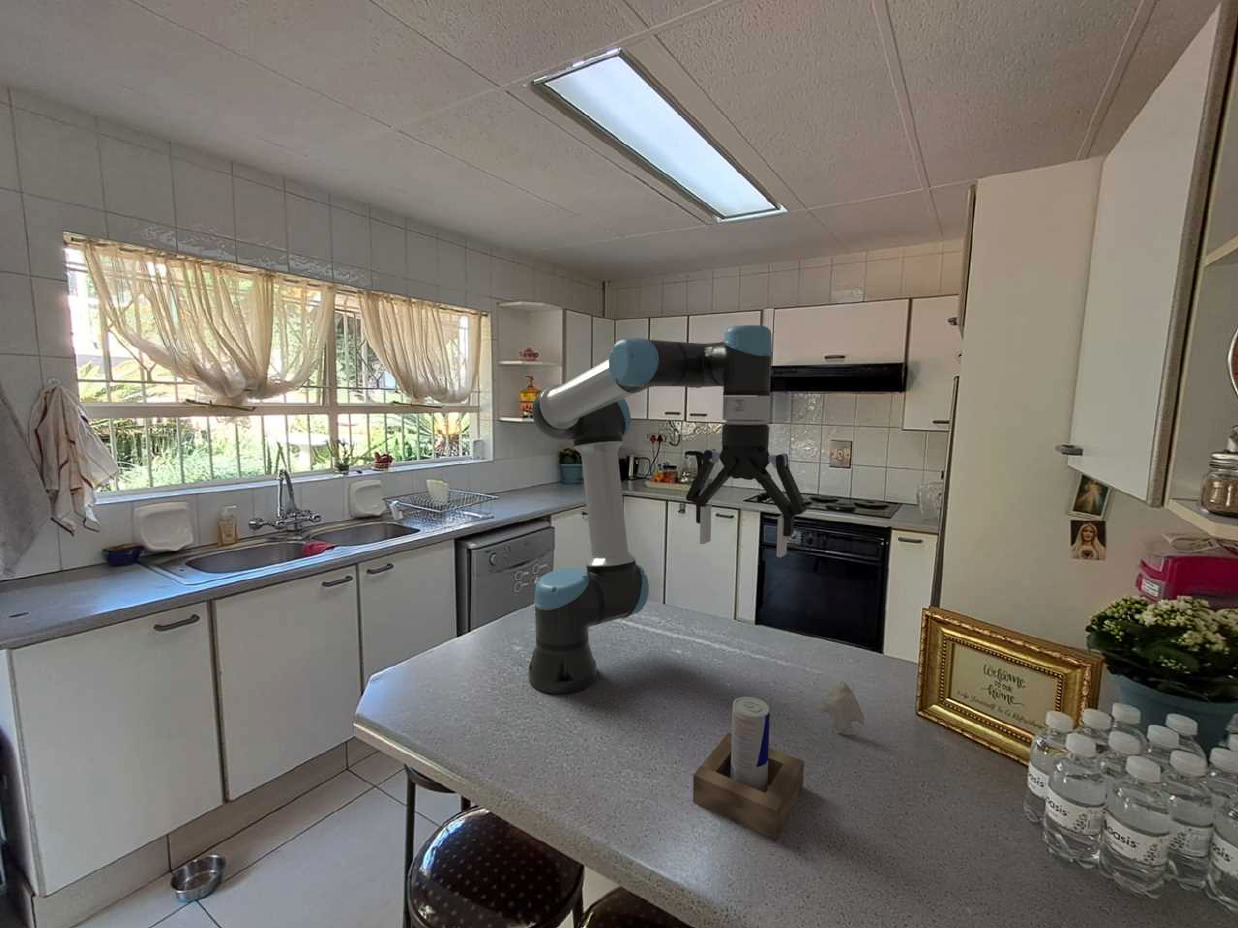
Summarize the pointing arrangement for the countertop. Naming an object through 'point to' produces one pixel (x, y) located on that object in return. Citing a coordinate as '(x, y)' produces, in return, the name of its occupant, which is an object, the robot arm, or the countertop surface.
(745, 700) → the beverage can
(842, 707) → the arrowhead
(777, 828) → the socket
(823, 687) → the countertop surface
